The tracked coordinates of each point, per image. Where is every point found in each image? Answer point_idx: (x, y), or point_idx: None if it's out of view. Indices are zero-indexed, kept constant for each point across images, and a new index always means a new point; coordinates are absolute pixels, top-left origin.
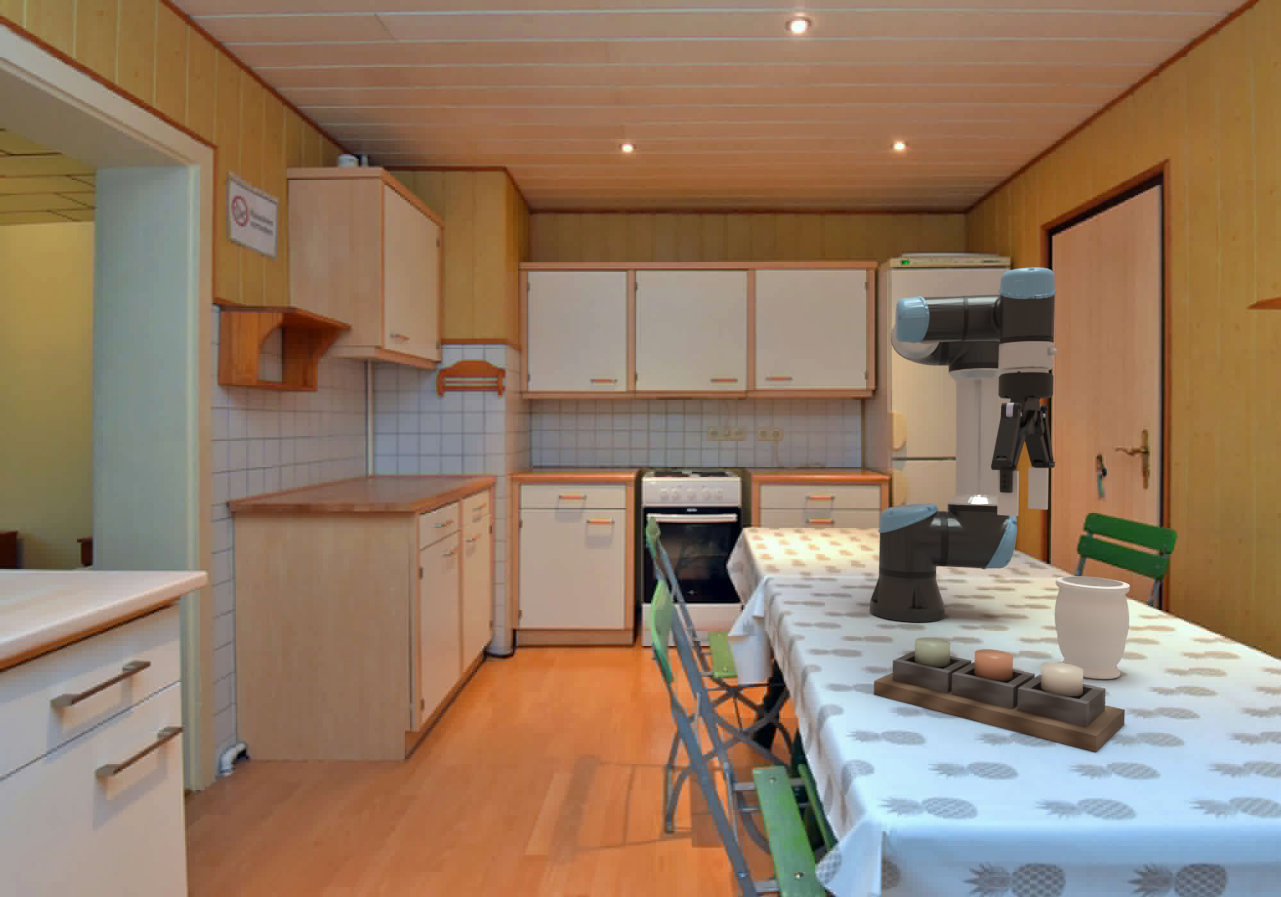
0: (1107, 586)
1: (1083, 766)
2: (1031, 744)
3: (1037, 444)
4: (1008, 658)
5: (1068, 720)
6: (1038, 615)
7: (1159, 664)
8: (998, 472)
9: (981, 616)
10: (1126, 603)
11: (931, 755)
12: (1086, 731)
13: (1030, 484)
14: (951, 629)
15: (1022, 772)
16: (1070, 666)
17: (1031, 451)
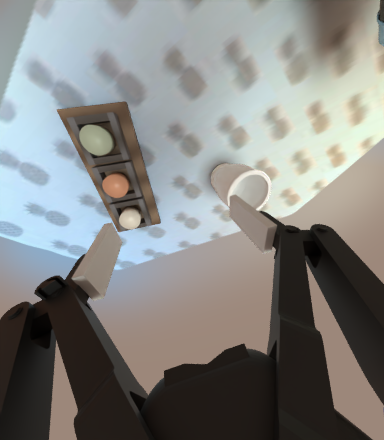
0: (264, 193)
1: None
2: (100, 212)
3: (273, 299)
4: (116, 197)
5: None
6: (352, 78)
7: None
8: (73, 275)
9: (334, 32)
10: None
11: (36, 196)
12: (119, 228)
13: (247, 214)
14: (272, 37)
15: (70, 225)
16: (136, 222)
17: (277, 266)
